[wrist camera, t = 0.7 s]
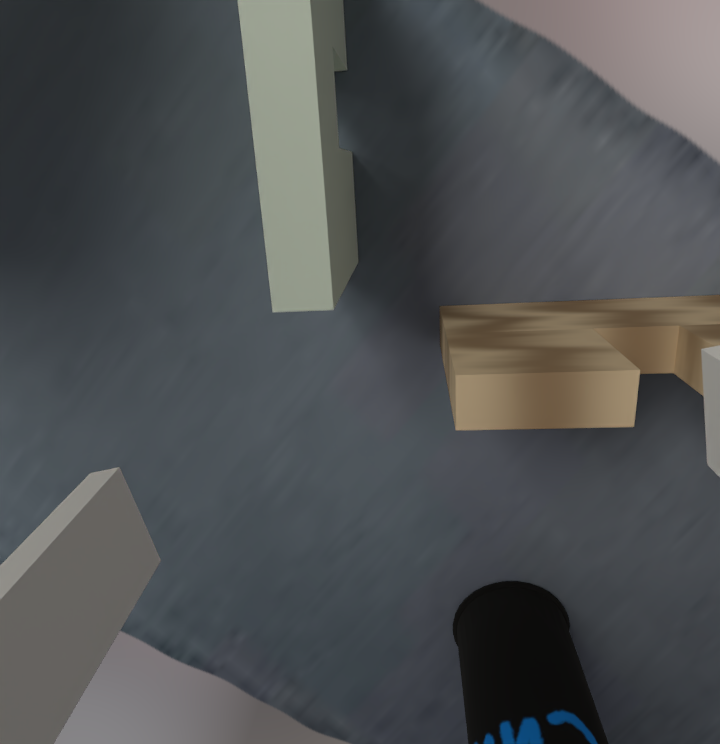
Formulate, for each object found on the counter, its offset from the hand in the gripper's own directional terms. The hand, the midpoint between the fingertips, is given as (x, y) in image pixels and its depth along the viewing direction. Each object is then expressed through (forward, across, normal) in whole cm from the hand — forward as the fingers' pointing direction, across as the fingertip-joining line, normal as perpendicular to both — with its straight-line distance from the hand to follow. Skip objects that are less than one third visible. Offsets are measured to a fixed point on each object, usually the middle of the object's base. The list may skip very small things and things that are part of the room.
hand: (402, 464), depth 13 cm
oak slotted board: (+22, +10, -5) cm, 25 cm away
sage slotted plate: (+22, -2, +9) cm, 24 cm away
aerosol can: (+22, +2, -27) cm, 34 cm away
